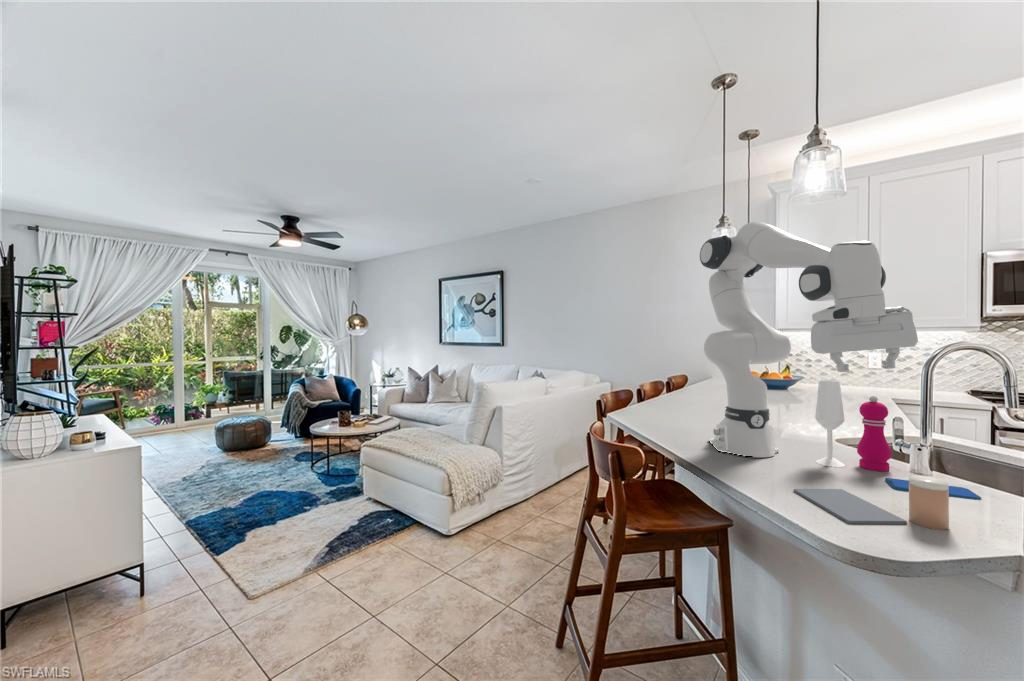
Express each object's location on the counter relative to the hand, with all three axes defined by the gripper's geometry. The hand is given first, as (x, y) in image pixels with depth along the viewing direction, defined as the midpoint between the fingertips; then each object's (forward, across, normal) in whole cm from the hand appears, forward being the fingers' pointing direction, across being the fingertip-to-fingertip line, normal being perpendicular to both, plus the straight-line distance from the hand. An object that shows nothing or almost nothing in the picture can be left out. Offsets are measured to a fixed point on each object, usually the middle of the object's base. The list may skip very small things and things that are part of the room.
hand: (865, 370), depth 94 cm
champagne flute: (+29, -4, -26) cm, 39 cm away
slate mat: (+28, +11, +6) cm, 31 cm away
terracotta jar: (+29, 0, +13) cm, 32 cm away
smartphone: (+31, -15, -7) cm, 35 cm away
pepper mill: (+30, -14, -22) cm, 40 cm away
